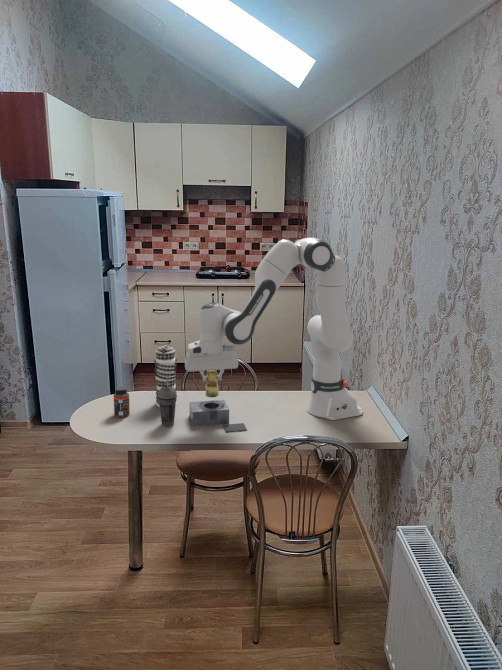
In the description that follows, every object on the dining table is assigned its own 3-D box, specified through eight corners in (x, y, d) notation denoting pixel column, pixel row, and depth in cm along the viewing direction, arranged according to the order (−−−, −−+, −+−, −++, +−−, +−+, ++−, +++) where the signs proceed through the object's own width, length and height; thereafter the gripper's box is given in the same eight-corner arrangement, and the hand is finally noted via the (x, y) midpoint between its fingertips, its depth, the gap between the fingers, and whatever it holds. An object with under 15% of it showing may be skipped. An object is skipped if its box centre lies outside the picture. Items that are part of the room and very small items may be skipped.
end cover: (217, 392, 204) (217, 369, 202) (219, 396, 200) (219, 373, 197) (204, 393, 203) (204, 369, 201) (206, 397, 199) (206, 374, 196)
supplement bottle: (124, 419, 203) (123, 391, 200) (111, 416, 205) (109, 389, 202) (132, 413, 209) (131, 386, 206) (119, 411, 210) (118, 384, 207)
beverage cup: (175, 419, 204) (174, 370, 199) (179, 427, 197) (178, 377, 192) (156, 421, 201) (155, 372, 196) (160, 429, 195) (159, 379, 190)
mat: (243, 424, 201) (243, 423, 201) (247, 430, 196) (247, 429, 195) (223, 425, 199) (223, 424, 199) (226, 432, 194) (226, 431, 194)
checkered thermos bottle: (157, 399, 223) (156, 343, 216) (179, 400, 223) (178, 344, 216) (153, 408, 214) (151, 349, 208) (175, 408, 214) (174, 350, 207)
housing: (224, 413, 210) (224, 399, 209) (229, 424, 201) (229, 409, 199) (189, 416, 207) (189, 402, 206) (192, 426, 198) (192, 412, 196)
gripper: (236, 341, 202) (236, 375, 205) (183, 345, 197) (184, 379, 201) (240, 346, 196) (240, 381, 199) (185, 349, 191) (186, 385, 195)
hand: (211, 380), depth 200 cm, fingers closed on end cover, 4 cm apart
